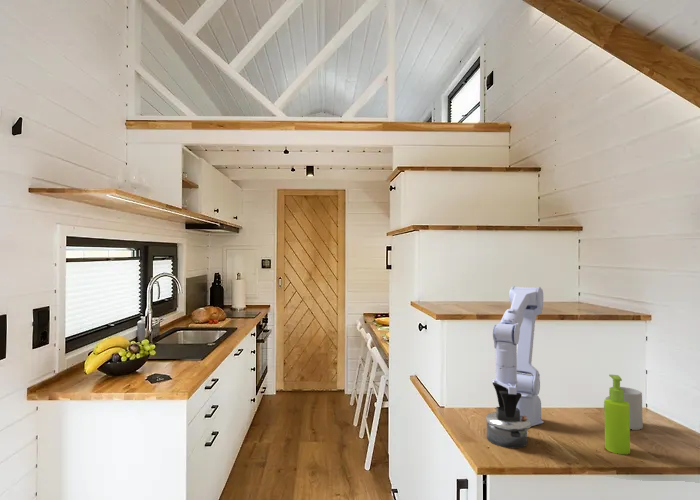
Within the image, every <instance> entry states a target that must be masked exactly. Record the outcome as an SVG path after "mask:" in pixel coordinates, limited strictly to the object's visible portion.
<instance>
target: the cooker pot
mask: <svg viewBox="0 0 700 500" xmlns="http://www.w3.org/2000/svg"><path fill="white" fill-rule="evenodd" d="M486 440H487V441H488V442H489V443H491V444H493V445H495V446H498V447H502V448H509V449H520V448H524V447H526V446H527V445H528V429H526V430H520V431H513V430H505V429H500V428H497V427H494V426H492V425H490V424H489V423H487V422H486Z"/></svg>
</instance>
